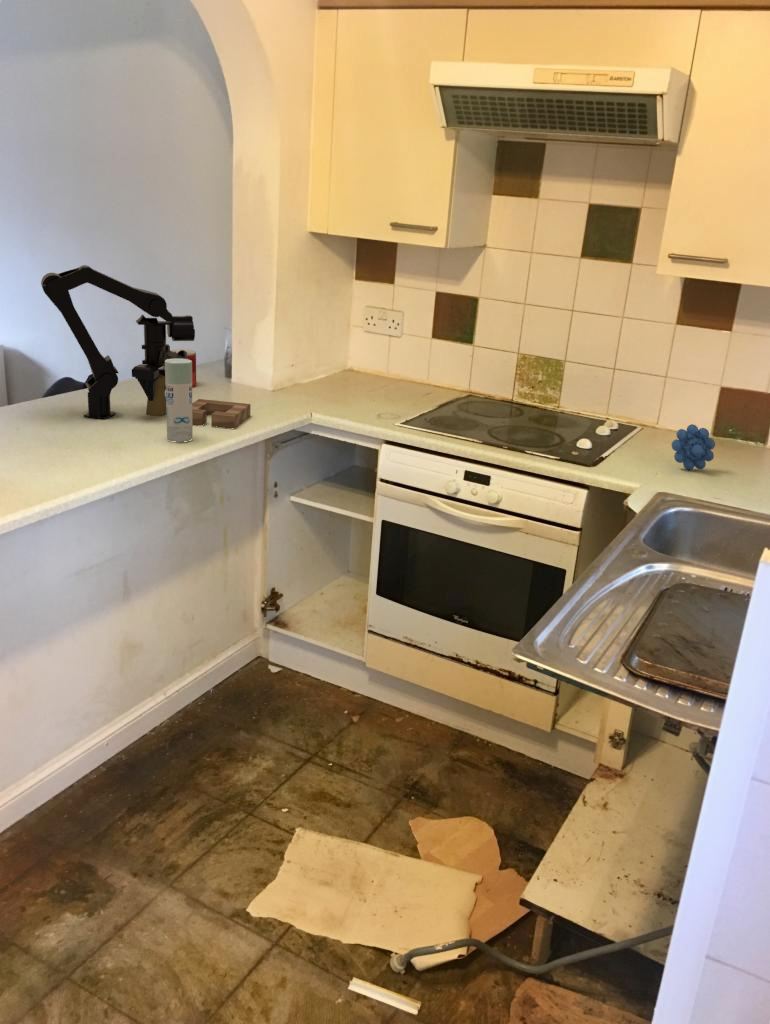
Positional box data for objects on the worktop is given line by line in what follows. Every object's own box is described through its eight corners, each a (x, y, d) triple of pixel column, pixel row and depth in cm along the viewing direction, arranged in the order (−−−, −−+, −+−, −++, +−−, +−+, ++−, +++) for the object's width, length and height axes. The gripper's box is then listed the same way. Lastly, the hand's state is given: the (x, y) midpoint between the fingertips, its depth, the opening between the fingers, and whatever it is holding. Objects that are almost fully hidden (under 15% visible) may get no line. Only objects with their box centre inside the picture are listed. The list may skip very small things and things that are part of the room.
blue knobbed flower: (673, 474, 219) (682, 428, 215) (663, 466, 226) (671, 421, 222) (717, 475, 221) (727, 430, 216) (706, 467, 227) (715, 423, 223)
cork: (144, 416, 239) (143, 376, 235) (147, 410, 244) (145, 372, 240) (167, 416, 240) (166, 377, 236) (169, 411, 245) (168, 372, 241)
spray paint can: (195, 442, 218) (194, 363, 211) (169, 443, 216) (167, 363, 209) (189, 435, 224) (188, 358, 217) (164, 436, 221) (162, 358, 214)
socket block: (234, 429, 232) (234, 416, 231) (180, 423, 234) (179, 410, 233) (250, 416, 246) (250, 404, 245) (199, 410, 248) (199, 398, 247)
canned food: (201, 386, 276) (200, 352, 273) (179, 389, 271) (179, 354, 267) (187, 382, 281) (186, 348, 277) (165, 384, 276) (165, 350, 272)
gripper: (170, 349, 225) (172, 408, 231) (196, 338, 243) (196, 393, 248) (129, 345, 227) (131, 404, 232) (157, 335, 244) (159, 389, 249)
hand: (156, 397), depth 240 cm, fingers open, 8 cm apart
